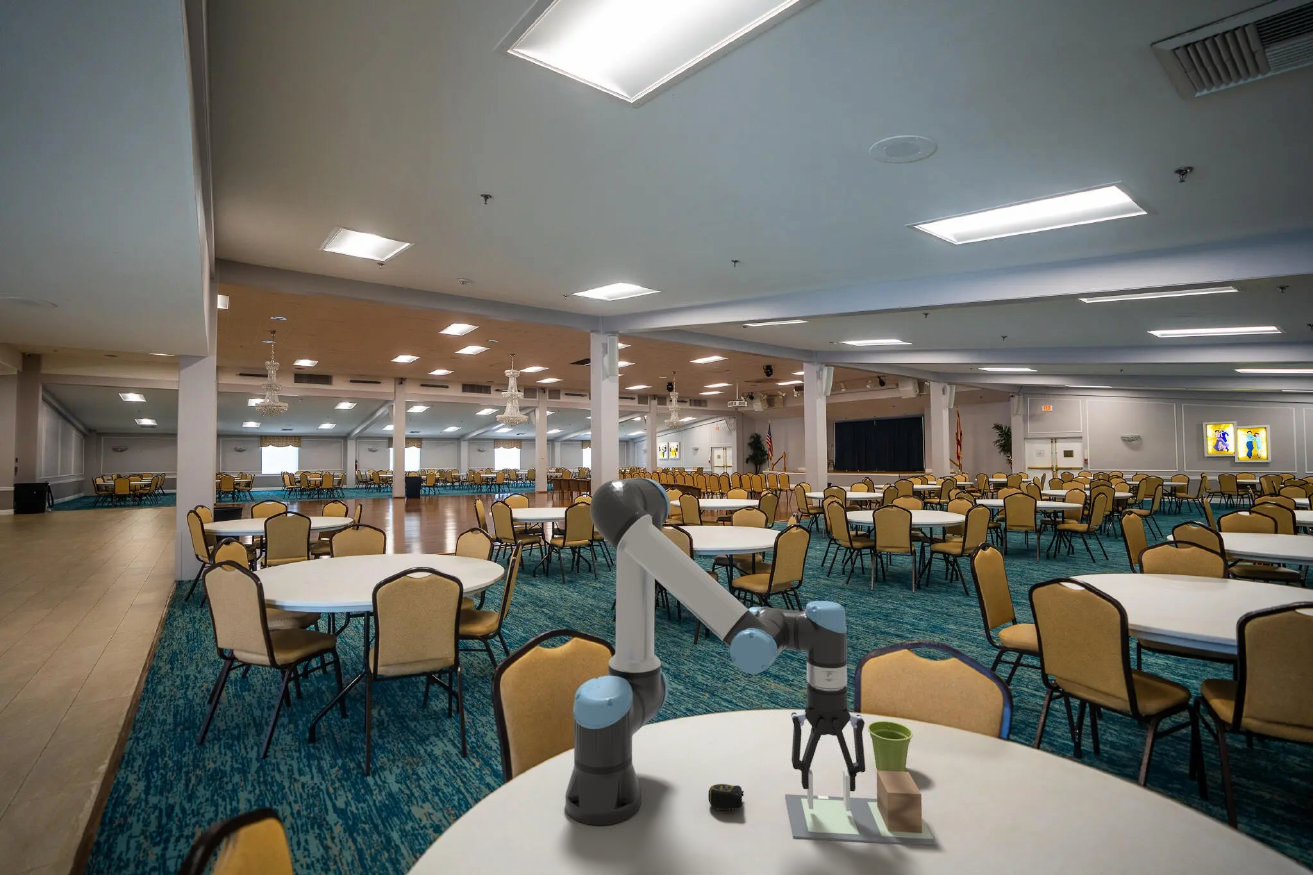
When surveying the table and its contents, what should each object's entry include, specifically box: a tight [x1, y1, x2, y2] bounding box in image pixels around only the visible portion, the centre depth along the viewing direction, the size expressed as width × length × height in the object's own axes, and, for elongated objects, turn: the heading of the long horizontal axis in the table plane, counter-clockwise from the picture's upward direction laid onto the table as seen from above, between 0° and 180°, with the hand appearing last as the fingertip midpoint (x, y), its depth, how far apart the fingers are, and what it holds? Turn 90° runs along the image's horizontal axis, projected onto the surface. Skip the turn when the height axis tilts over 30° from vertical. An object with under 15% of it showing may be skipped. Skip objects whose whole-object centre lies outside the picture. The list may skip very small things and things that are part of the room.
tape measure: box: [708, 783, 744, 811], centre depth 123 cm, size 7×7×4 cm
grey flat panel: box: [784, 793, 937, 847], centre depth 118 cm, size 25×14×1 cm, turn 84°
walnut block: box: [876, 769, 923, 833], centre depth 117 cm, size 6×8×7 cm
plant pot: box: [867, 720, 914, 772], centre depth 138 cm, size 9×9×9 cm
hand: (828, 805), depth 119 cm, fingers open, 6 cm apart
